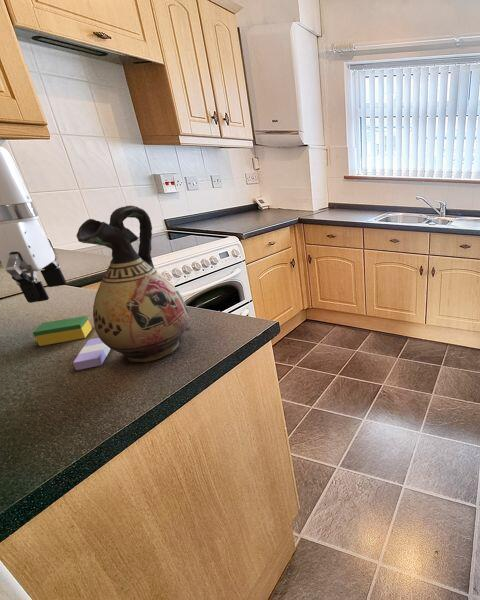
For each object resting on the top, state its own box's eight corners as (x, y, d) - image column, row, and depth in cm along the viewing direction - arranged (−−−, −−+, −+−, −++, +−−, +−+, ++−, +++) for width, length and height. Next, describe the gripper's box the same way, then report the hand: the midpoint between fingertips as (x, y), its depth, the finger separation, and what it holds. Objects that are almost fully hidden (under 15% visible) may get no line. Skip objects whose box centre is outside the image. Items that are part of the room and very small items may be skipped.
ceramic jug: (149, 378, 63) (88, 217, 51) (91, 364, 68) (22, 213, 55) (218, 334, 78) (184, 202, 66) (167, 326, 82) (126, 199, 70)
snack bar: (101, 365, 67) (98, 357, 67) (75, 370, 66) (72, 362, 65) (114, 342, 76) (111, 335, 75) (91, 346, 74) (88, 339, 73)
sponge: (39, 346, 74) (32, 332, 73) (48, 336, 78) (42, 322, 77) (85, 337, 77) (79, 324, 76) (92, 328, 82) (86, 315, 80)
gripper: (7, 209, 72) (43, 283, 79) (-46, 223, 58) (4, 312, 65) (52, 206, 75) (83, 277, 82) (13, 218, 61) (55, 304, 68)
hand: (49, 292), depth 73 cm, fingers open, 9 cm apart
